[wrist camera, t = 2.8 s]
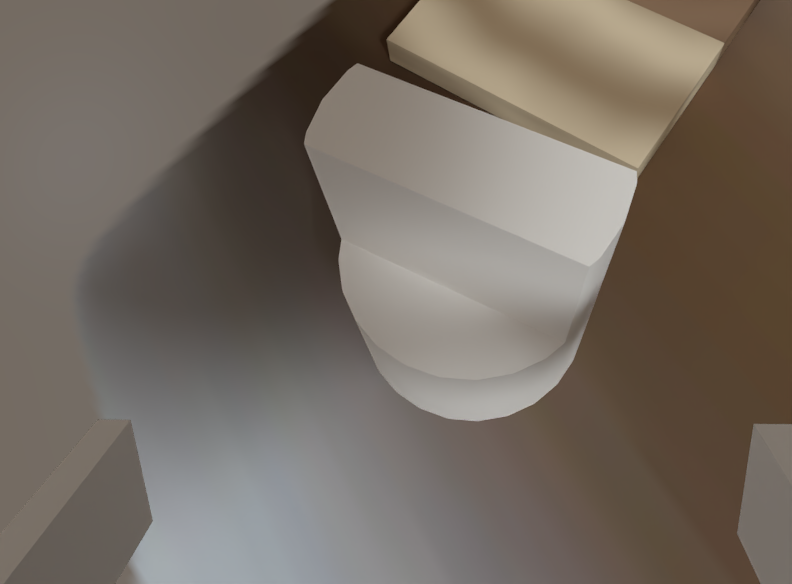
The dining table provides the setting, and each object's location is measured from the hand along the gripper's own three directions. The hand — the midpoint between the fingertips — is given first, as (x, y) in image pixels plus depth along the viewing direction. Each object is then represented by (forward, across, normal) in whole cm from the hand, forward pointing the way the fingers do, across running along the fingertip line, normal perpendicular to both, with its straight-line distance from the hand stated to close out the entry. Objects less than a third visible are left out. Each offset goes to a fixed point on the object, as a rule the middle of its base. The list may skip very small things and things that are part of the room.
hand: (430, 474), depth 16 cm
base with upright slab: (+15, +1, -3) cm, 16 cm away
